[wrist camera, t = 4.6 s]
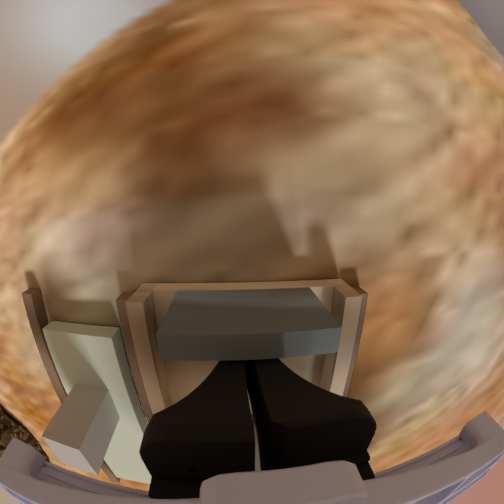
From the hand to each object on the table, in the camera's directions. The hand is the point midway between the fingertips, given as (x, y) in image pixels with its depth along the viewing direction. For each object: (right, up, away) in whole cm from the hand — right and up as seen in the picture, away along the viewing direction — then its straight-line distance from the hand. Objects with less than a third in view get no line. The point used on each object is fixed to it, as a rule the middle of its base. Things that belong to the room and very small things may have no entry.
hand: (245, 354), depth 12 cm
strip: (-9, -7, +3) cm, 12 cm away
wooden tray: (0, -5, +3) cm, 6 cm away
